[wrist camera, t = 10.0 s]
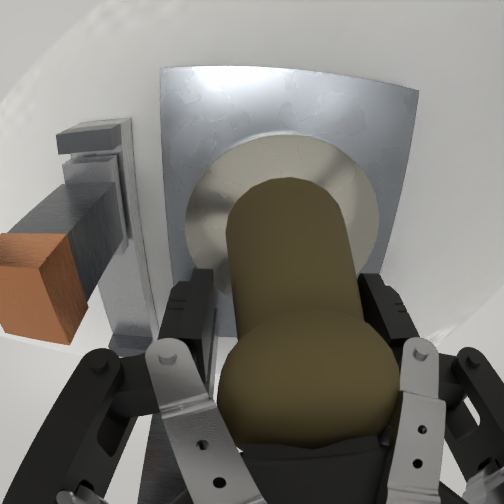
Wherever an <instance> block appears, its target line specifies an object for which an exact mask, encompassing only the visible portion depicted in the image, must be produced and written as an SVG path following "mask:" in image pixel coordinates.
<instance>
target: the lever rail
mask: <svg viewBox="0 0 504 504" xmlns="http://www.w3.org/2000/svg"><path fill="white" fill-rule="evenodd" d="M56 140H57V147H58V155H60V154H70V153H71V159H72V158H83V157H96V156H111V155H117V162H118V171H119V180H120V188H121V196H122V204H123V211H124V218H125V224H126V231H127V237H128V243H129V246H128V248H127V249H126V251H125V253H124V255H113V257H112V259H111V261H110V262H109V264H108V266H107V267H106V269H105V271H104V273H103V274H102V276H101V278H100V280H99V281H98V283H97V284H98V287H99V291H100V294H101V297H102V301H103V304H104V307H105V311H106V314H107V317H108V320H109V323H110V326H111V329H112V332H113V335H112V338H111V340H110V343H109V345H108V347H109V349H110V350H112V351H114V352H115V353H116V354H117V355H118V356H120V357H129V356H135V355H139V354H142V353H144V352H146V350H147V348H148V347H149V346H150V345H151V344H152V343H154V342H155V341H157V339H158V335H159V328H158V324H157V319H156V314H155V309H154V303H153V298H152V293H151V287H150V282H149V276H148V270H147V264H146V258H145V251H144V244H143V238H142V230H141V223H140V215H139V207H138V198H137V189H136V179H135V169H134V157H133V144H132V129H131V118H124V119H113V120H103V121H93V122H85V123H80V124H78V125H75V126H73V127H71V128H69V129H67V130H65V131H63V132H61V133H59V134H57V135H56Z"/></svg>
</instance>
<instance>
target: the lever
mask: <svg viewBox="0 0 504 504" xmlns="http://www.w3.org/2000/svg"><path fill="white" fill-rule="evenodd" d="M62 167H63V173H64V179H65V184H62V185H61V186H59V187H58V188H57V189H56V190H55V191H53V192H52V193H51V194H50V195H49V196H47V197H46V198H45V199H44V200H43V201H42V202H40V203H39V204H38V205H37V206H36V207H35V208H33V209H32V210H31V211H30V212H29V213H28V214H27V215H26V216H25V217H23V218H22V219H21V220H20V221H19V222H18V223H17V224H16V225H15V226H14V227H13V228H12V229H11V230H10V231H9V232H8V233H2V234H1V235H0V324H1V326H2V328H3V329H4V331H5V333H9V334H13V335H18V336H22V337H27V338H32V339H37V340H42V341H48V342H53V343H59V344H65V345H70V344H71V342H72V340H73V337H74V335H75V333H76V331H77V329H78V327H79V325H80V323H81V321H82V319H83V317H84V315H85V313H86V311H87V309H88V304H87V302H88V300H89V298H90V296H91V294H92V292H93V291H94V289H95V287H96V285H97V283H98V281H99V280H100V278H101V276H102V274H103V273H104V271H105V269H106V267H107V266H108V264H109V262H110V261H111V259H112V257H113V255H124V253H125V251H126V249H127V248H128V246H129V243H128V237H127V231H126V224H125V218H124V211H123V204H122V196H121V188H120V180H119V171H118V162H117V155H111V156H96V157H83V158H72V159H70V160H69V161H67V162H66V163H64V164H63V165H62Z"/></svg>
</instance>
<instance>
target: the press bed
mask: <svg viewBox="0 0 504 504" xmlns="http://www.w3.org/2000/svg"><path fill="white" fill-rule="evenodd" d="M418 95H419V91H418V90H414V89H410V88H406V87H402V86H397V85H393V84H388V83H384V82H379V81H373V80H368V79H363V78H357V77H351V76H345V75H338V74H331V73H323V72H315V71H306V70H296V69H284V68H270V67H249V66H192V67H171V68H160V115H161V143H162V163H163V179H164V194H165V207H166V218H167V229H168V240H169V249H170V259H171V267H172V276H173V284H174V286H175V285H176V284H177V283H178V282H179V281H190V280H191V276H192V271H193V268H203V269H213V278H214V318H213V326H212V335H211V344H210V353H209V362H208V371H207V381H206V383H203V385H204V387H205V389H206V392H207V394H208V396H209V397H210V398H212V399H213V391H214V379H215V367H216V356H217V344H218V337H237V331H236V322H235V314H234V306H233V297H232V289H231V280H230V271H229V262H228V253H227V244H226V235H225V231H226V225H227V219H228V215H229V213H230V212H231V210H232V208H233V206H234V205H235V203H236V201H237V200H238V199H239V198H240V197H241V196H242V195H243V194H244V193H246V192H247V191H248V190H249V189H250V188H251V187H253V186H255V185H258V184H260V183H262V182H265V181H267V180H269V179H275V178H285V177H294V178H299V179H304V180H308V181H312V182H313V183H315V184H317V185H318V186H320V187H322V188H324V189H325V190H327V191H328V192H329V193H330V195H331V196H332V197H333V198H334V199H335V200H336V202H337V203H338V204H339V207H340V209H341V212H342V215H343V218H344V221H345V225H346V229H347V234H348V238H349V243H350V247H351V252H352V257H353V262H354V266H355V271H356V277H357V279H358V276H359V274H360V273H378V274H379V273H380V270H381V266H382V263H383V260H384V256H385V253H386V249H387V246H388V242H389V238H390V235H391V231H392V227H393V223H394V220H395V216H396V212H397V207H398V203H399V199H400V195H401V190H402V186H403V181H404V177H405V172H406V167H407V162H408V157H409V152H410V146H411V141H412V135H413V129H414V123H415V116H416V110H417V102H418ZM186 488H187V486H186V483H185V481H184V478H183V476H182V473H181V470H180V468H179V465H178V463H177V460H176V457H175V454H174V452H173V449H172V446H171V443H170V440H169V438H168V435H167V432H166V429H165V426H164V423H163V420H162V416H161V413H156V414H153V415H152V420H151V425H150V431H149V436H148V442H147V447H146V453H145V459H144V464H143V470H142V477H141V483H140V490H139V496H138V503H137V504H170V503H171V502H173V501H174V500H175V499H176V498H177V497H178V496H179V495H180V494H181V493H182V492H183V491H184V490H185V489H186Z"/></svg>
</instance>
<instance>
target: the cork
mask: <svg viewBox="0 0 504 504" xmlns="http://www.w3.org/2000/svg"><path fill="white" fill-rule="evenodd" d="M225 235H226V244H227V253H228V262H229V271H230V280H231V289H232V297H233V306H234V314H235V322H236V331H237V339H238V343H237V344H236V345H235V346H234V348H233V349H232V350H231V351H230V353H229V354H228V356H227V358H226V361H225V363H224V365H223V368H222V370H221V375H220V380H219V385H218V394H217V408H218V410H219V412H220V414H221V416H222V418H223V421H224V423H225V425H226V427H227V429H228V431H229V433H230V435H231V437H232V439H233V441H234V443H235V445H236V447H238V448H239V449H240V450H242V451H243V449H244V444H282V445H287V446H292V447H298V448H304V449H310V450H316V449H320V448H323V447H326V446H329V445H332V444H335V443H338V442H341V441H343V440H346V439H354V438H362V437H369V436H376V435H377V437H378V436H379V434H380V433H381V432H382V430H383V429H384V428H385V426H386V425H387V423H388V421H389V419H390V417H391V415H392V413H393V411H394V409H395V405H396V401H397V398H398V394H399V391H400V373H399V368H398V364H397V362H396V359H395V357H394V354H393V351H392V349H391V348H390V347H389V346H388V344H387V343H386V342H385V341H384V339H383V338H382V337H381V336H380V335H379V334H378V333H377V332H376V331H375V330H374V329H373V327H372V326H371V325H370V324H368V323H366V322H365V321H364V315H363V309H362V304H361V298H360V292H359V287H358V282H357V277H356V271H355V266H354V262H353V257H352V252H351V247H350V243H349V238H348V234H347V229H346V225H345V221H344V218H343V215H342V212H341V209H340V207H339V204H338V203H337V202H336V200H335V199H334V198H333V197H332V196H331V195H330V193H329V192H328V191H327V190H325V189H324V188H322V187H320V186H318V185H317V184H315V183H313V182H312V181H308V180H304V179H299V178H294V177H285V178H275V179H269V180H267V181H265V182H262V183H260V184H258V185H255V186H253V187H251V188H250V189H249V190H248V191H247V192H246V193H244V194H243V195H242V196H241V197H240V198H239V199H238V200H237V201H236V203H235V205H234V206H233V208H232V210H231V212H230V213H229V215H228V219H227V225H226V231H225Z"/></svg>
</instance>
